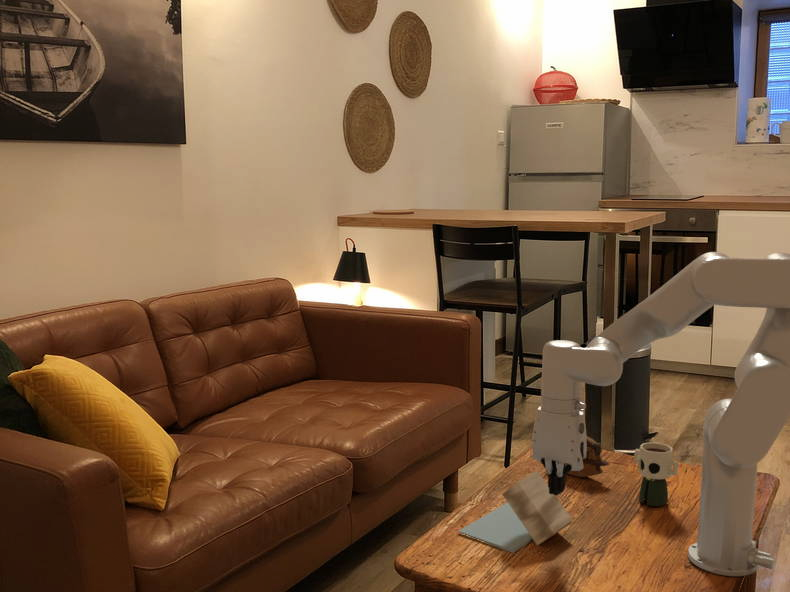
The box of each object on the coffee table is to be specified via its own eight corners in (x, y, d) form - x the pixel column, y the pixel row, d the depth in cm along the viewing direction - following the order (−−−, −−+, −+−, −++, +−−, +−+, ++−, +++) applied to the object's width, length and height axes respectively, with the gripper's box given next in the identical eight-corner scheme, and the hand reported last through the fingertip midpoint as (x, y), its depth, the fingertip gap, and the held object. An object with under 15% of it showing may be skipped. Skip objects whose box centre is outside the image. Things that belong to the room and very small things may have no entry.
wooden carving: (541, 470, 203) (542, 431, 201) (549, 465, 206) (551, 427, 205) (604, 486, 193) (606, 445, 191) (612, 480, 197) (614, 440, 195)
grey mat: (562, 519, 175) (562, 516, 175) (513, 553, 159) (513, 550, 159) (509, 503, 183) (509, 500, 183) (458, 533, 168) (458, 531, 167)
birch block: (573, 521, 166) (537, 470, 170) (554, 534, 160) (517, 481, 164) (557, 532, 169) (522, 482, 173) (538, 546, 163) (502, 494, 167)
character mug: (623, 499, 186) (626, 444, 183) (641, 491, 190) (644, 437, 188) (665, 515, 177) (668, 457, 175) (683, 506, 182) (687, 450, 179)
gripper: (604, 407, 158) (599, 496, 161) (536, 392, 168) (532, 478, 171) (586, 416, 153) (581, 508, 156) (517, 400, 162) (513, 488, 165)
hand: (556, 492), depth 163 cm, fingers closed
